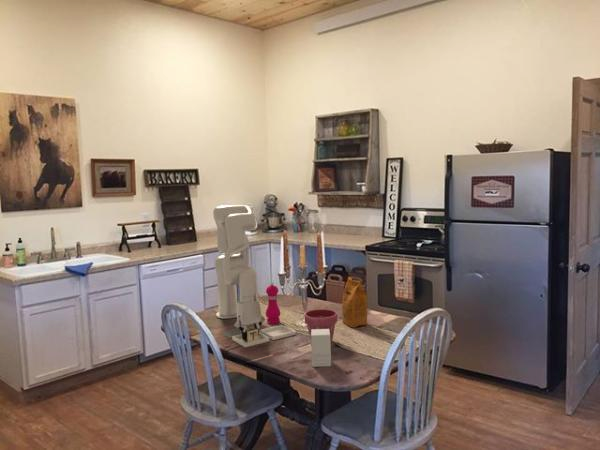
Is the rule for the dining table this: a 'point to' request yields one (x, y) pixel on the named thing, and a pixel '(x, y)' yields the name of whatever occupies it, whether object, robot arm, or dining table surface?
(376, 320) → the dining table surface
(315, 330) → the supplement box
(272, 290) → the pepper mill
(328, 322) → the plant pot
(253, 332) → the letter cube
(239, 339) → the tray
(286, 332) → the tray
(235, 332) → the pad
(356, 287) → the coffee package
